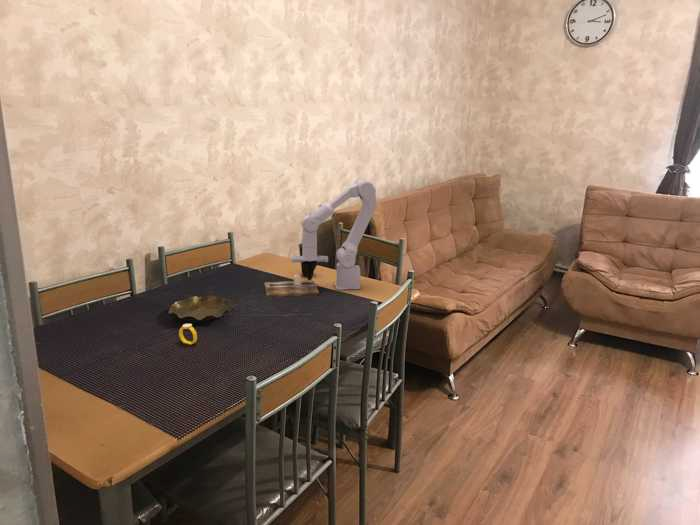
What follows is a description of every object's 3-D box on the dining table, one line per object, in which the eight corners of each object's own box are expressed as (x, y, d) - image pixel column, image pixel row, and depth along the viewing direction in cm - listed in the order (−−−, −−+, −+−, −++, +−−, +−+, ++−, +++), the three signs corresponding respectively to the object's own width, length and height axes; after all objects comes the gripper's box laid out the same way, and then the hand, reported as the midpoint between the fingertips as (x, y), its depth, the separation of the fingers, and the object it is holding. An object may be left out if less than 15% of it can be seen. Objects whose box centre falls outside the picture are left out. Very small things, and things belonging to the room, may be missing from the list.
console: (313, 282, 228) (313, 277, 228) (319, 294, 213) (319, 289, 213) (264, 284, 224) (264, 279, 224) (266, 297, 209) (266, 291, 209)
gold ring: (178, 344, 167) (175, 325, 166) (184, 340, 170) (182, 322, 168) (193, 346, 165) (191, 327, 163) (199, 343, 167) (197, 324, 166)
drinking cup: (296, 274, 239) (295, 229, 234) (312, 272, 242) (312, 228, 237) (302, 279, 233) (302, 232, 227) (319, 277, 236) (319, 231, 230)
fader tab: (300, 284, 221) (300, 274, 220) (301, 288, 217) (301, 277, 216) (293, 285, 220) (292, 274, 219) (294, 288, 217) (294, 277, 215)
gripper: (326, 243, 221) (325, 275, 224) (290, 244, 218) (290, 277, 221) (329, 247, 214) (328, 280, 218) (291, 248, 211) (292, 282, 215)
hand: (309, 279), depth 219 cm, fingers closed
